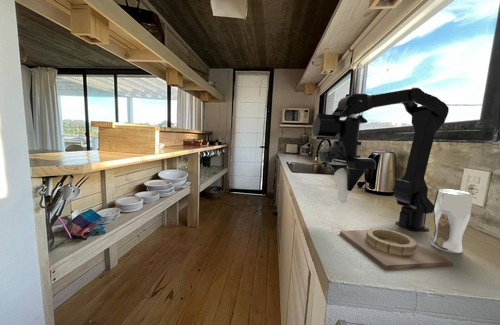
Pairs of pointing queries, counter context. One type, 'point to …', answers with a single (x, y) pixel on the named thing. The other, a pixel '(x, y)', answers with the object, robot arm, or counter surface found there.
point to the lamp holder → (394, 249)
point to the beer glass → (450, 219)
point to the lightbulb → (341, 184)
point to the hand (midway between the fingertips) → (343, 188)
